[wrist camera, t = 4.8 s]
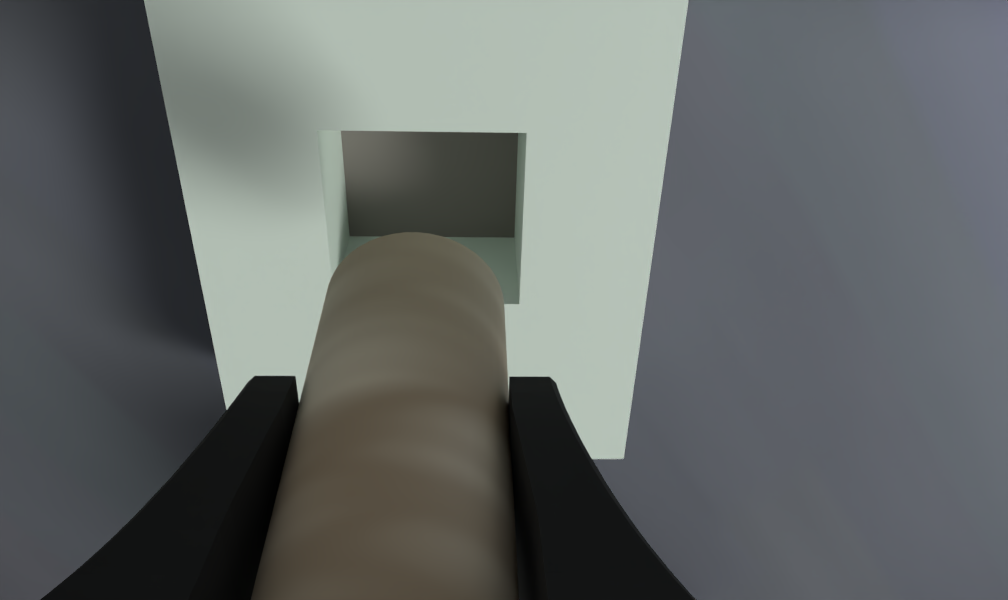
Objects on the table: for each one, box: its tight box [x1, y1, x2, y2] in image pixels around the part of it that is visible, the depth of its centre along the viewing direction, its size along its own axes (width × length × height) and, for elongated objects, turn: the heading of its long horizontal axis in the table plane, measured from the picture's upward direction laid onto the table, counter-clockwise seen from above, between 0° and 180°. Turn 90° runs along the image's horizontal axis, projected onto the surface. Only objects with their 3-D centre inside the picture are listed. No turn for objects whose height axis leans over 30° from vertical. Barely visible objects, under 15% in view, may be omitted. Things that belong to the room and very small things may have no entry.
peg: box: [251, 232, 519, 600], centre depth 13 cm, size 3×3×8 cm
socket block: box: [144, 0, 688, 459], centre depth 20 cm, size 10×14×4 cm
